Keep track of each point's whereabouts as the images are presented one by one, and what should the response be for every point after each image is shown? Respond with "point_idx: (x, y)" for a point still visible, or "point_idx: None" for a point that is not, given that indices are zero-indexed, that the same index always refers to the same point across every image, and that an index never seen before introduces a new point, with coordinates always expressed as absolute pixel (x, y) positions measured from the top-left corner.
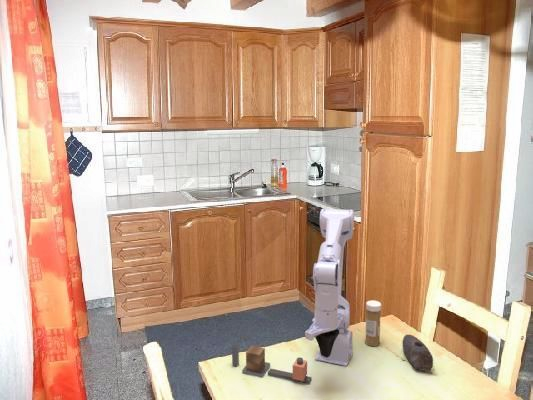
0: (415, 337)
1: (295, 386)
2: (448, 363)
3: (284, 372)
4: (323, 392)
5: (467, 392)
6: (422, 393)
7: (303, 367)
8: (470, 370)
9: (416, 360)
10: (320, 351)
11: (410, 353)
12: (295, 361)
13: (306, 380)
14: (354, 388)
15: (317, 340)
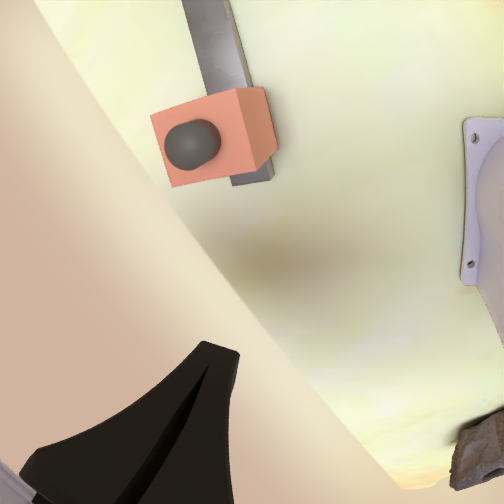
0: None
1: None
2: None
3: (220, 34)
4: (227, 253)
5: (397, 473)
6: (369, 443)
7: (175, 186)
8: None
9: (459, 456)
10: (185, 360)
11: (497, 439)
12: (198, 102)
13: None
14: (317, 338)
15: (106, 427)
